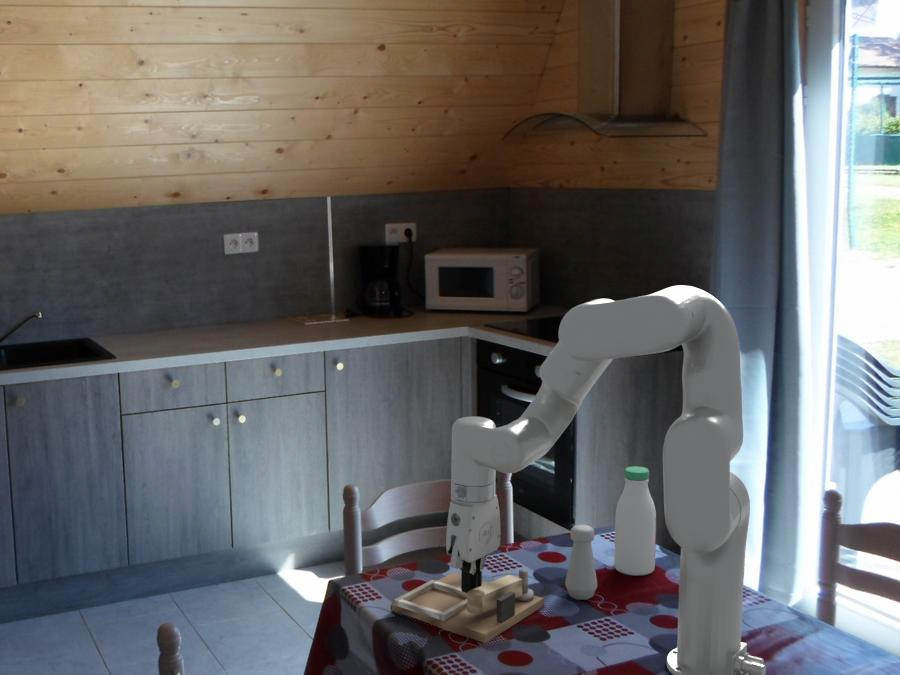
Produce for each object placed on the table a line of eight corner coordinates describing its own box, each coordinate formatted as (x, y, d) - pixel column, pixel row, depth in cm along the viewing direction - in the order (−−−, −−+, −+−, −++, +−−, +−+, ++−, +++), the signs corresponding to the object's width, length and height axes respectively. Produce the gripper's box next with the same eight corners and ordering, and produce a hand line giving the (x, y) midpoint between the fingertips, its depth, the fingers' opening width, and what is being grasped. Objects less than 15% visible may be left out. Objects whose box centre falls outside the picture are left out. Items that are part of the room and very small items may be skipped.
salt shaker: (562, 599, 191) (563, 530, 189) (568, 587, 196) (569, 520, 194) (594, 603, 189) (595, 533, 187) (599, 591, 195) (601, 523, 192)
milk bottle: (654, 578, 200) (657, 476, 197) (613, 575, 202) (615, 473, 199) (655, 563, 208) (657, 464, 205) (615, 560, 209) (617, 462, 206)
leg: (509, 590, 188) (509, 574, 187) (522, 595, 185) (522, 579, 185) (463, 609, 180) (463, 593, 179) (476, 615, 177) (476, 598, 177)
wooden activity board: (543, 606, 188) (544, 571, 187) (485, 642, 174) (485, 605, 173) (453, 579, 200) (453, 547, 199) (391, 612, 186) (391, 577, 185)
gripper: (464, 506, 172) (462, 612, 175) (516, 484, 183) (513, 584, 187) (428, 496, 176) (427, 600, 179) (481, 475, 188) (479, 573, 191)
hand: (471, 592), depth 183 cm, fingers closed
